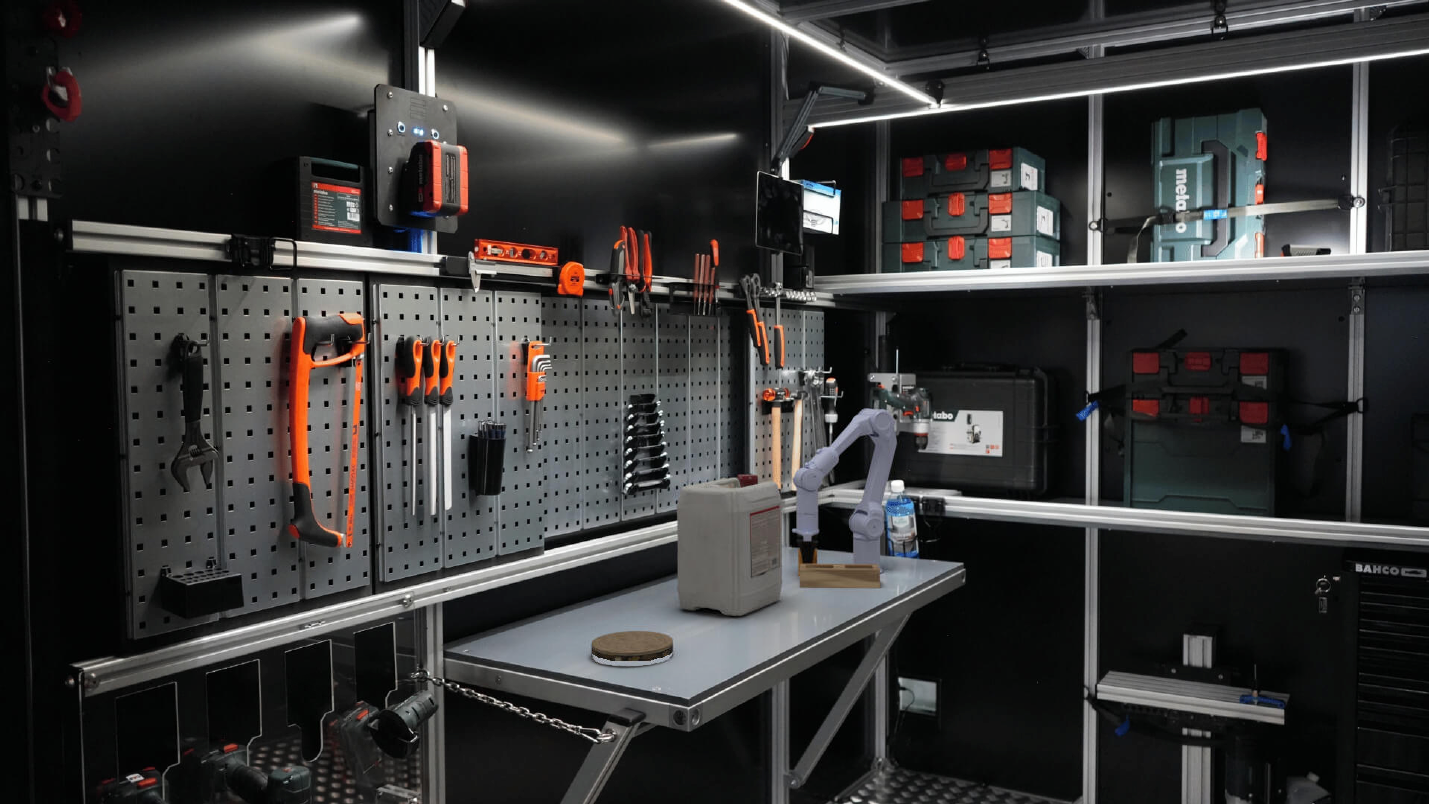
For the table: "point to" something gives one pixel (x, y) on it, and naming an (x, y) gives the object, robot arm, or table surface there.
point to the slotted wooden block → (840, 575)
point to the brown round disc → (632, 646)
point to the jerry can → (729, 545)
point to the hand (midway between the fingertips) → (807, 563)
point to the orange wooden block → (802, 562)
